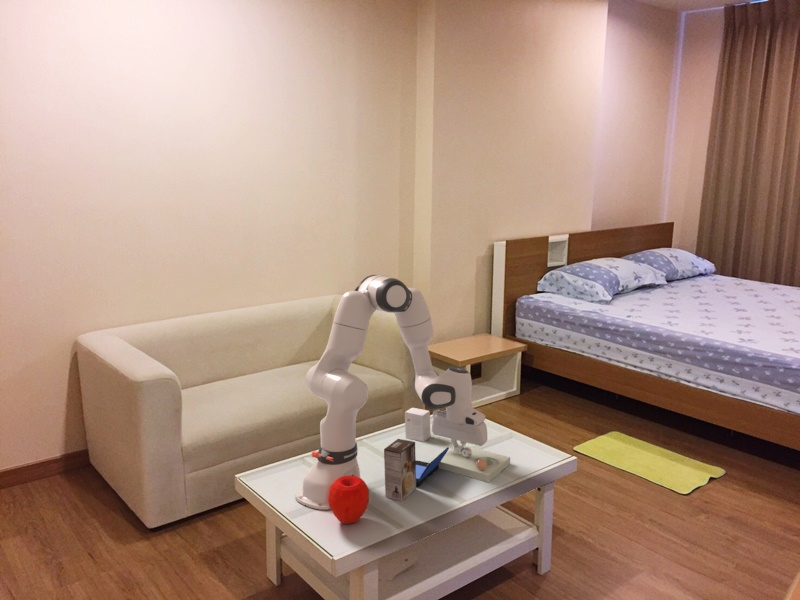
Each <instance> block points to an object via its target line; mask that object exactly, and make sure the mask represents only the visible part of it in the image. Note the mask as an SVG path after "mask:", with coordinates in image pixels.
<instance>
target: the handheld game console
mask: <svg viewBox="0 0 800 600" xmlns="http://www.w3.org/2000/svg"><path fill="white" fill-rule="evenodd" d="M449 449H450V447H446V448H445V449H444V450H443V451H442V452H440V453H439V454H438V455H437V456H436V457H435V458H434V459H433V460H432V461H431V462H427V461H421V460H416V489H417V488H419V487H421V485H422V484H423V483H424V482H425V481H427V478H429V477H430V476H432V475H433V474H434V473H435V472H436V471H437V470H439V463H440V461H441V460H442V459H443V457H444V456H445V454H446V453H447V452H449Z"/></svg>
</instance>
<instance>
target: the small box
mask: <svg viewBox="0 0 800 600" xmlns="http://www.w3.org/2000/svg"><path fill="white" fill-rule="evenodd" d="M404 421H405V422H404V423H405V424H404V425H405V426H404V427H405V430H404V431H405V438H406V439H410V440H414V441H419V442H425V441H426V440H428V439H429V438H430V437H431V411H430V410H427V409H421V408H416V407H411V408H409V409H407V410H406V411H405V412H404Z"/></svg>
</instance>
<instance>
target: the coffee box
mask: <svg viewBox="0 0 800 600" xmlns="http://www.w3.org/2000/svg"><path fill="white" fill-rule="evenodd" d="M383 457H384V458H383V460H384V461H383V462H384V489H385V490H384V491H385V498H389V499H392V500H396V501H401V502H403V501H404V500H405V499H406V498H408V497H409V496H410V495H411V494H412V493H413V492H415V490H417V488H416V461H417V460H416V441H411V440H406V439H400V438H397V439H396V440H394V441H393V442H392V443H391V444H389V445H388V446H386V447H385V448H384V449H383Z"/></svg>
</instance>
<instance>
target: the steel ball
mask: <svg viewBox="0 0 800 600" xmlns="http://www.w3.org/2000/svg"><path fill="white" fill-rule="evenodd" d="M469 447H470V446H468V447H465V448H463V450H462V455H463V456H464V457H466V458H468V457H470V456H471V455H472V450H471V449H470V448H469Z"/></svg>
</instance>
